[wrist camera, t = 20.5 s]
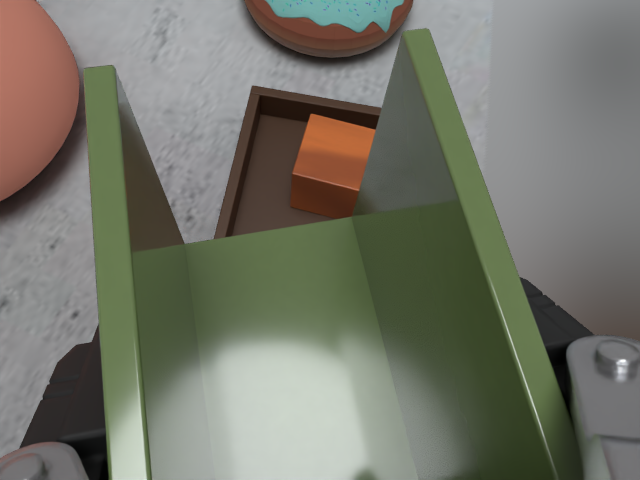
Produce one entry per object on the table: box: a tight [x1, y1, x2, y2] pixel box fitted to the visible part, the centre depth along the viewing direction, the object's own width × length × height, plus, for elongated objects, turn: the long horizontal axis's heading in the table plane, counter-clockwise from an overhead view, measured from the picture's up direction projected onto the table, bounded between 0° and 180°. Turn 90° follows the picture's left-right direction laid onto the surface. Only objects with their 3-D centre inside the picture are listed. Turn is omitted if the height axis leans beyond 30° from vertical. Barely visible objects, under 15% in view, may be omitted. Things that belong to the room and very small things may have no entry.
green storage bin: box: [83, 28, 584, 480], centre depth 11 cm, size 10×6×8 cm, turn 12°
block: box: [290, 114, 376, 219], centre depth 32 cm, size 4×4×4 cm
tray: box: [214, 86, 382, 239], centre depth 33 cm, size 12×11×2 cm
